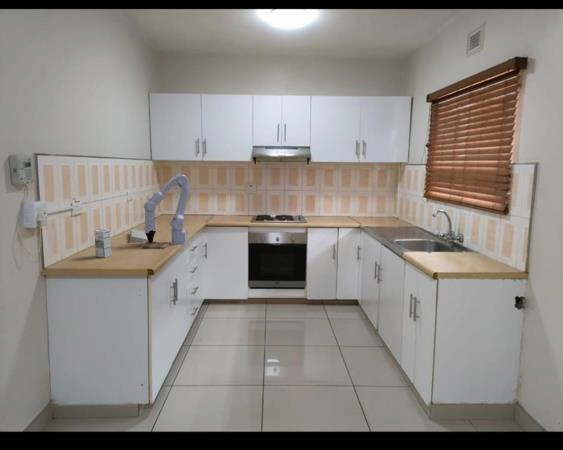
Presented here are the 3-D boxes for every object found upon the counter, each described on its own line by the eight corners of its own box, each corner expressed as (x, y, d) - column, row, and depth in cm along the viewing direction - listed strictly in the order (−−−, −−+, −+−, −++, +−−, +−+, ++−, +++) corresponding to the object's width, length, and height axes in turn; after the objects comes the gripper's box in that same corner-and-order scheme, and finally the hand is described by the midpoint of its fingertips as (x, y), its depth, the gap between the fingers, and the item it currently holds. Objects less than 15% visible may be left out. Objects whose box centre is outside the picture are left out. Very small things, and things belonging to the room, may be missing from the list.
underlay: (171, 244, 249) (171, 244, 249) (164, 249, 233) (164, 249, 233) (148, 244, 249) (148, 243, 249) (140, 249, 233) (140, 249, 233)
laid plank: (170, 244, 248) (170, 242, 248) (164, 248, 234) (164, 246, 234) (160, 244, 248) (160, 242, 248) (153, 248, 234) (153, 246, 234)
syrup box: (111, 255, 216) (110, 229, 214) (104, 258, 210) (103, 231, 208) (102, 255, 217) (101, 229, 215) (95, 257, 212) (93, 230, 210)
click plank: (159, 244, 248) (159, 242, 248) (153, 248, 234) (153, 246, 234) (148, 242, 248) (148, 240, 248) (141, 247, 234) (141, 245, 234)
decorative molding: (143, 237, 288) (129, 234, 284) (145, 231, 288) (131, 228, 284) (146, 246, 257) (130, 243, 253) (147, 239, 256) (131, 236, 253)
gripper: (147, 219, 249) (147, 240, 251) (139, 222, 234) (140, 244, 236) (158, 219, 249) (158, 240, 251) (151, 222, 235) (152, 245, 237)
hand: (150, 242), depth 244 cm, fingers closed, pressing on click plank
